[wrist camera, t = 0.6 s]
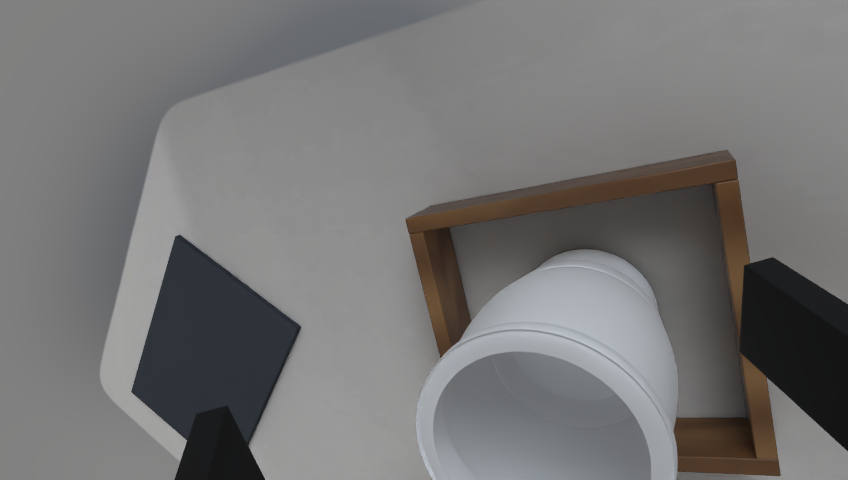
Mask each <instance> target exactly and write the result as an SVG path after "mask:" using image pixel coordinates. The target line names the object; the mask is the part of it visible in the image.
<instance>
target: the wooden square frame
mask: <svg viewBox="0 0 848 480" xmlns="http://www.w3.org/2000/svg"><path fill="white" fill-rule="evenodd" d="M707 184H712V187H713V193H714V200H715V206H716V213H717V220H718V226H719V233H720V239H721V246H722V252H723V259H724V266H725V272H726V279H727V285H728V292H729V299H730V305H731V312H732V318H733V325H734V332H735V338H736V345H737V351H738V358H739V364H740V371H741V378H742V384H743V391H744V397H745V404H746V411H747V417H748V418H676V421H675V426H674V430H673V431H674V435H675V440H676V445H677V455H678V468H677V471H679V472H701V473H723V474H744V475H766V476H780V475H781V474H780V467H779V460H778V454H777V447H776V440H775V433H774V426H773V419H772V412H771V405H770V398H769V391H768V384H767V377H766V376H765V375H764V374H763V373H762V372H761V371H760V370H759V369H758V368H756V367H755V366H754V365H753V364H752V363H751V362H750V361H749V360H748V359H747V358H746V357H744V356H743V355H742V354H741V353H740V352H739V345H740V327H741V309H742V292H743V274H744V265H747V264H750V258H749V251H748V244H747V237H746V230H745V223H744V216H743V209H742V202H741V195H740V188H739V181H738V174H737V167H736V161H735V159H734V158H733V156H732V155H731V154H730V152H729V151H728V150H724V151H719V152H713V153H708V154H703V155H697V156H692V157H687V158H682V159H676V160H671V161H666V162H660V163H655V164H650V165H645V166H639V167H634V168H629V169H623V170H618V171H613V172H608V173H602V174H597V175H592V176H586V177H581V178H576V179H570V180H565V181H560V182H555V183H549V184H544V185H539V186H533V187H528V188H523V189H518V190H512V191H507V192H502V193H496V194H491V195H486V196H480V197H475V198H470V199H465V200H459V201H454V202H449V203H443V204H438V205H433V206H430V207H428V208H426V209H424V210H422V211H420V212H418V213H416V214H414V215H412V216H410V217H408V218H406V223H407V227H408V231H409V234H410V239H411V243H412V247H413V251H414V255H415V259H416V263H417V267H418V271H419V275H420V279H421V283H422V286H423V290H424V294H425V298H426V302H427V306H428V310H429V314H430V318H431V322H432V326H433V330H434V334H435V338H436V342H437V346H438V350H439V354H440V358H441V357H442V356H443V355H444V354H445V353H446V352H447V351H448V350H449V349H450V348H451V347H452V346H454V345H455V344H456V343H458V342H459V341H460V339H461V337H462V336H463V334H464V332H465V331H466V329H467V327H468V326H469V324H470V323H471V319H470V315H469V311H468V307H467V302H466V298H465V294H464V290H463V286H462V281H461V277H460V273H459V269H458V265H457V261H456V256H455V252H454V248H453V244H452V240H451V236H450V231H449V227H454V226H460V225H466V224H472V223H478V222H484V221H490V220H496V219H502V218H508V217H514V216H520V215H526V214H532V213H538V212H544V211H550V210H556V209H562V208H568V207H574V206H580V205H586V204H592V203H598V202H604V201H610V200H616V199H622V198H628V197H634V196H640V195H646V194H652V193H658V192H665V191H671V190H677V189H683V188H689V187H695V186H701V185H707Z"/></svg>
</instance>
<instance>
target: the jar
mask: <svg viewBox="0 0 848 480" xmlns="http://www.w3.org/2000/svg"><path fill="white" fill-rule="evenodd" d="M677 408H678V375H677V367H676V361H675V357H674V353H673V349H672V346H671V343H670V340H669V337H668V335H667V332H666V330H665V328H664V325H663V322H662V320H661V317H660V315H659V313H658V305H657V301H656V298H655V295H654V292H653V290H652V288H651V286H650V285H649V283H648V282H647V280H646V279H645V277H644V276H643V275H642V274H641V273H640V272H639V271H638V270H637V269H636V268H635V267H634V266H632V265H631V264H630V263H628V262H627V261H625V260H624V259H622V258H620V257H618V256H616V255H613V254H610V253H607V252H604V251H599V250H592V249H578V250H571V251H567V252H563V253H560V254H558V255H555V256H553V257H551V258H550V259H548V260H546V261H545V262H544V263H542V264H541V265H540V266H539V267H538V268H537V269H536V270H534V271H532V272H530V273H528V274H527V275H525V276H523V277H522V278H520V279H518V280H516V281H514V282H513V283H511V284H509V285H508V286H506V287H505V288H504V289H502V290H501V291H500V292H498V293H497V294H496V295H495V296H494V297H492V298H491V299H490V300H489V301H488V302H487V303H486V304H485V305H484V306H483V308H482V309H481V310H480V311H479V312H478V313H477V315H476V316H475V317H474V319H473V320H472V321H471V323H470V324H469V326H468V327H467V329H466V331H465V332H464V334H463V336H462V337H461V339H460V341H459V342H458V343H456V344H455V345H454V346H452V347H451V348H450V349H449V350H448V351H447V352H446V353H445V354H444V355H443V356H442V357H441V358H440V360H439V361H438V362H437V364H436V365H435V366H434V368H433V369H432V370H431V372H430V373H429V375H428V377H427V379H426V380H425V382H424V385H423V387H422V390H421V393H420V396H419V400H418V404H417V411H416V432H417V439H418V444H419V448H420V452H421V455H422V458H423V461H424V463H425V466H426V468H427V470H428V472H429V474H430V476H431V478H432V480H676V478H677V468H678V455H677V445H676V440H675V435H674V431H673V430H674V426H675V421H676V415H677Z"/></svg>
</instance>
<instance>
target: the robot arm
mask: <svg viewBox="0 0 848 480" xmlns="http://www.w3.org/2000/svg"><path fill="white" fill-rule="evenodd" d="M739 352H740V353H741V354H742V355H743V356H744V357H746V358H747V359H748V360H749V361H750V362H751V363H752V364H753V365H754V366H755V367H756V368H758V369H759V370H760V371H761V372H762V373H763V374H764V375H765V376H766V377H767V378H768V379H770V380H771V381H772V382H773V383H774V384H775V385H776V386H777V387H778V388H779V389H780V390H782V391H783V392H784V393H785V394H786V395H787V396H788V397H789V398H790V399H791V400H793V401H794V402H795V403H796V404H797V405H798V406H799V407H800V408H801V409H802V410H803V411H805V412H806V413H807V414H808V415H809V416H810V417H811V418H812V419H813V420H814V421H815V422H817V423H818V424H819V425H820V426H821V427H822V428H823V429H824V430H825V431H826V432H827V433H829V434H830V435H831V436H832V437H833V438H834V439H835V440H836V441H837V442H838V443H839V444H841V445H842V446H843V447H844V448H845V449H846V450H847V451H848V304H846V303H845V302H843V301H842V300H840V299H838V298H837V297H835V296H834V295H832V294H830V293H829V292H827V291H826V290H824V289H823V288H821V287H819V286H818V285H816V284H815V283H813V282H811V281H810V280H808V279H807V278H805V277H803V276H802V275H800V274H799V273H797V272H795V271H794V270H792V269H791V268H789V267H788V266H786V265H784V264H783V263H781V262H780V261H778V260H776V259H775V258H769V259H765V260H762V261H758V262H754V263H750V264H747V265H744V274H743V292H742V309H741V327H740V345H739ZM175 480H265V478H264V476H263V474H262V472H261V470H260V468H259V467H258V465H257V463H256V461H255V459H254V457H253V455H252V453H251V451H250V449H249V447H248V445H247V443H246V441H245V439H244V437H243V435H242V433H241V431H240V429H239V427H238V425H237V423H236V421H235V419H234V417H233V415H232V413H231V411H230V409H229V408H228V406H223V407H219V408H216V409H212V410H208V411H204V412H201V413H197V414H196V416H195V419H194V422H193V425H192V428H191V431H190V434H189V437H188V440H187V443H186V446H185V449H184V452H183V456H182V459H181V462H180V465H179V468H178V471H177V474H176V477H175Z"/></svg>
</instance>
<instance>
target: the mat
mask: <svg viewBox="0 0 848 480" xmlns="http://www.w3.org/2000/svg"><path fill="white" fill-rule="evenodd" d="M300 328H301V327H300V326H299V325H297V324H296V323H295V322H294V321H292V320H291V319H290V318H288V317H287V316H286V315H284V314H283V313H282V312H280V311H279V310H278V309H276V308H275V307H274V306H272V305H271V304H270V303H268V302H267V301H266V300H265V299H263V298H262V297H261V296H259V295H258V294H257V293H255V292H254V291H253V290H251V289H250V288H249V287H247V286H246V285H245V284H243V283H242V282H241V281H239V280H238V279H237V278H236V277H234V276H233V275H232V274H230V273H229V272H228V271H226V270H225V269H224V268H222V267H221V266H220V265H218V264H217V263H216V262H214V261H213V260H212V259H210V258H209V257H208V256H207V255H205V254H204V253H203V252H201V251H200V250H199V249H197V248H196V247H195V246H193V245H192V244H191V243H189V242H188V241H187V240H185V239H184V238H183V237H181V236H180V235H179V236H176V237H175V240H174V243H173V247H172V250H171V254H170V257H169V261H168V264H167V268H166V272H165V275H164V279H163V282H162V286H161V289H160V293H159V296H158V300H157V303H156V307H155V310H154V314H153V317H152V321H151V324H150V328H149V331H148V335H147V338H146V342H145V346H144V349H143V353H142V356H141V360H140V363H139V367H138V370H137V374H136V377H135V381H134V384H133V388H132V391H131V392H132V393H133V394H134V395H135V396H137V397H138V398H139V399H140V400H141V401H142V402H144V403H145V404H146V405H147V406H148V407H149V408H150V409H152V410H153V411H154V412H155V413H156V414H157V415H158V416H160V417H161V418H162V419H163V420H164V421H165V422H167V423H168V424H169V425H170V426H171V427H172V428H173V429H175V430H176V431H177V432H178V433H179V434H180V435H182V436H183V437H184V438H185V439H186V440H188V437H189V434H190V431H191V428H192V425H193V422H194V419H195V416H196V414H197V413H201V412H204V411H208V410H212V409H216V408H219V407H223V406H228V408H229V409H230V411H231V413H232V415H233V417H234V419H235V421H236V423H237V425H238V427H239V429H240V431H241V433H242V435H243V437H244V439H245V441H246V443H247V445H248V444H249V442H250V440H251V437H252V435H253V433H254V431H255V428H256V426H257V424H258V422H259V419H260V417H261V415H262V413H263V410H264V408H265V406H266V404H267V401H268V399H269V397H270V395H271V393H272V390H273V388H274V386H275V384H276V381H277V379H278V377H279V375H280V372H281V370H282V368H283V366H284V363H285V361H286V359H287V357H288V354H289V352H290V350H291V348H292V345H293V343H294V341H295V339H296V336H297V334H298V332H299V330H300Z"/></svg>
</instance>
